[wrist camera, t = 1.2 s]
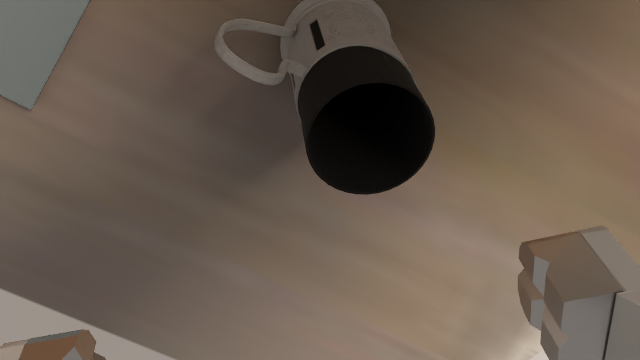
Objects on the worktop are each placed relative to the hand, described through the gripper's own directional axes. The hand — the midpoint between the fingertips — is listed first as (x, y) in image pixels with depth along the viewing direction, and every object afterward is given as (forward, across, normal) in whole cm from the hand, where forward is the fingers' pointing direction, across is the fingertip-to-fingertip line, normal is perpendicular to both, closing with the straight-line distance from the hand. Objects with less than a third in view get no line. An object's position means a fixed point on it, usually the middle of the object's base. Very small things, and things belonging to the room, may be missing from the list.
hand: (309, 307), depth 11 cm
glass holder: (+36, -2, +8) cm, 37 cm away
